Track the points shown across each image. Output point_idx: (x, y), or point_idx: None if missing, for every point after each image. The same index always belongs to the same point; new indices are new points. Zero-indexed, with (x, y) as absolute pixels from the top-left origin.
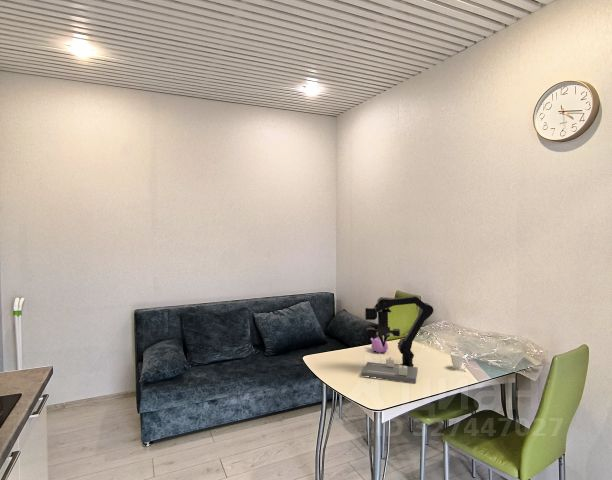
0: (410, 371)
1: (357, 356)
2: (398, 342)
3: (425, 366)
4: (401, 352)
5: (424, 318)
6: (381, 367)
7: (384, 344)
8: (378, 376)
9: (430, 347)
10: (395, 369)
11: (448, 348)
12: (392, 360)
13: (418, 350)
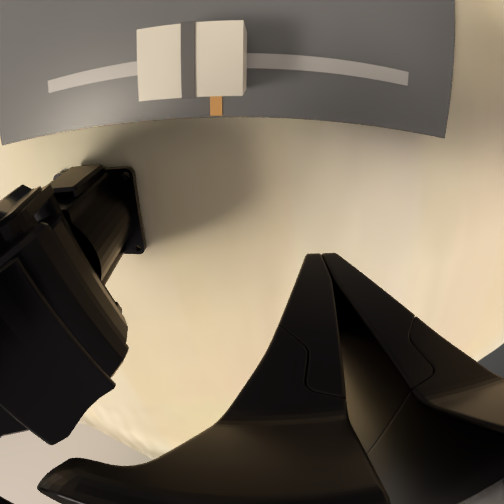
0: (25, 32)
1: (463, 297)
2: (100, 391)
3: None
4: (51, 221)
5: None
6: (296, 9)
7: (306, 275)
8: None
9: (113, 430)
10: (142, 5)
11: None
12: (151, 29)
13: (139, 414)
